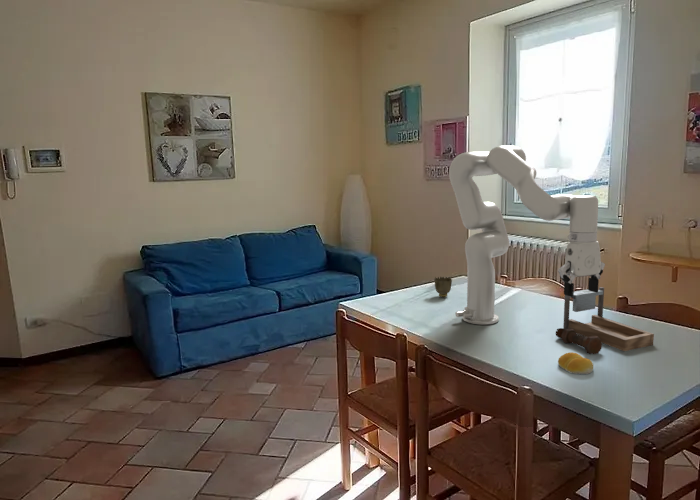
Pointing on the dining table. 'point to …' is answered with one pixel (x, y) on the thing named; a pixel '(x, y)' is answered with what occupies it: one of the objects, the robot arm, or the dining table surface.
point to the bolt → (580, 340)
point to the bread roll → (575, 363)
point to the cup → (443, 285)
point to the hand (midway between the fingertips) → (581, 293)
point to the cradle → (608, 329)
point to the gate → (584, 300)
